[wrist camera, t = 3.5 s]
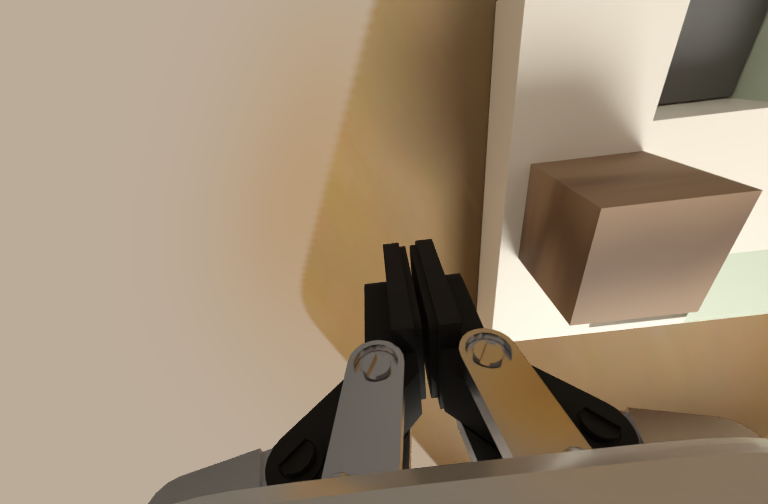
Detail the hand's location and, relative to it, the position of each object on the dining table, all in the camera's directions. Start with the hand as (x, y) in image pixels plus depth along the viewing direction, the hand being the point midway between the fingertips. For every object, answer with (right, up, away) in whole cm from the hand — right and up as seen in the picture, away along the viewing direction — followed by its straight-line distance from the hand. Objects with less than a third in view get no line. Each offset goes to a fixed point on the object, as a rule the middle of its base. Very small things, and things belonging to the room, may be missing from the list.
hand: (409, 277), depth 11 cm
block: (+8, +3, +4) cm, 10 cm away
